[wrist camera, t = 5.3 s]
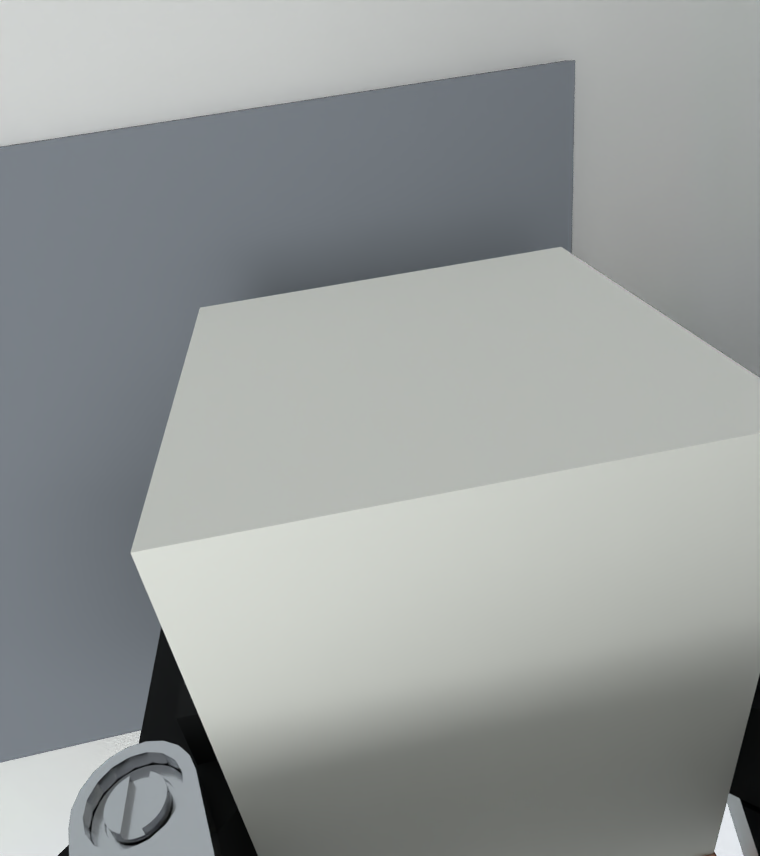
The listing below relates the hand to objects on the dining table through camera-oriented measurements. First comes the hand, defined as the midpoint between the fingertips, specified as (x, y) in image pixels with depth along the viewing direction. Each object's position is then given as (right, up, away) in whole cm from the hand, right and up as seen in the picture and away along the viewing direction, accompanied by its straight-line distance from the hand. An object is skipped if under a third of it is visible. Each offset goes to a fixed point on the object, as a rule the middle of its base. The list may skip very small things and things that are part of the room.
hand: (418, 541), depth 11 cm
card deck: (0, 0, 0) cm, 0 cm away
